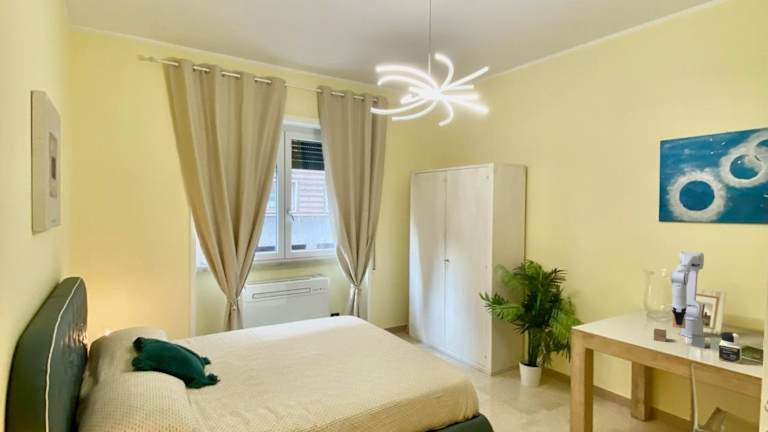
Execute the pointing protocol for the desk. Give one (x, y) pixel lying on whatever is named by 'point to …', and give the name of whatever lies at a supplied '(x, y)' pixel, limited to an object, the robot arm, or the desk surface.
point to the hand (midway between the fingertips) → (679, 323)
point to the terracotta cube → (679, 325)
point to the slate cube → (698, 341)
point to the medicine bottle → (730, 348)
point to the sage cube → (715, 343)
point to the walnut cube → (660, 335)
